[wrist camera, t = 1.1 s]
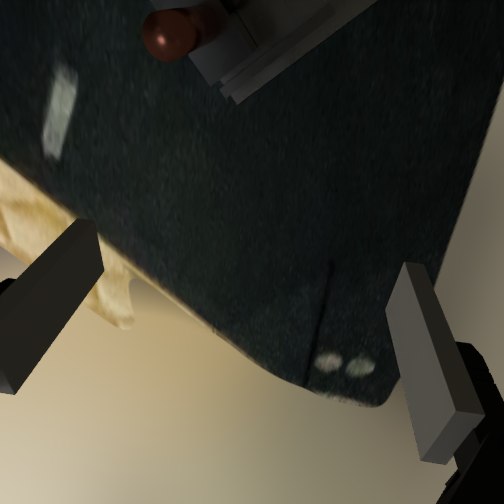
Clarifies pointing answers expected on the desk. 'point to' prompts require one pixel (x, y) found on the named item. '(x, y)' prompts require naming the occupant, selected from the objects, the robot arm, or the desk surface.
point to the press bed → (284, 37)
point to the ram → (199, 34)
